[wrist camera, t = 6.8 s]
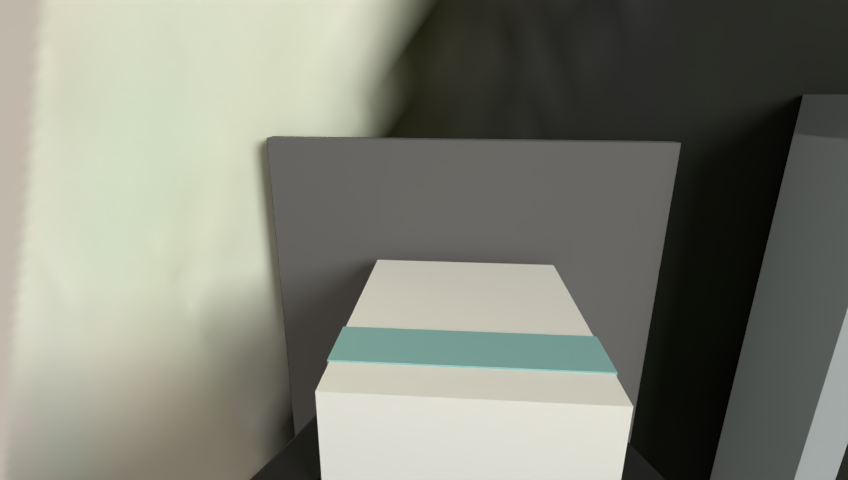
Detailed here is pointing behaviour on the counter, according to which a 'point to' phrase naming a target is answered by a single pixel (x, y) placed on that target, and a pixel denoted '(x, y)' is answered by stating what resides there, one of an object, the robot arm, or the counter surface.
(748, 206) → the counter surface
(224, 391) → the counter surface
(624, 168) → the gray panel
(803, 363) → the tray rim
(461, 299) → the carton
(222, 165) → the counter surface
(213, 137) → the counter surface
